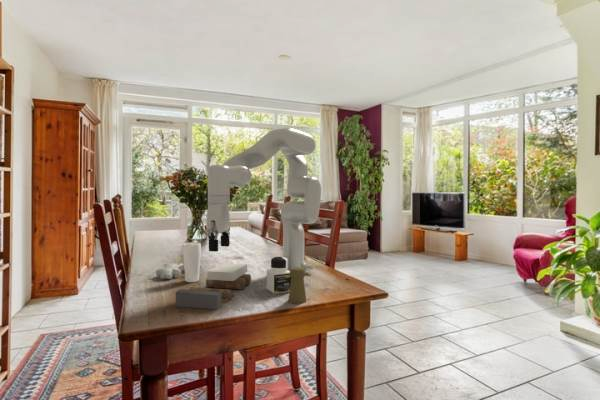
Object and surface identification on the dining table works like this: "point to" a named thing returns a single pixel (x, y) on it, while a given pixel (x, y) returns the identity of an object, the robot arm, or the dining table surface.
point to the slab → (227, 272)
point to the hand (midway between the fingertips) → (219, 248)
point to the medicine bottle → (278, 276)
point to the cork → (297, 286)
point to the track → (230, 283)
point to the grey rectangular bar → (199, 299)
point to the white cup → (192, 261)
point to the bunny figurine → (169, 271)
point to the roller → (225, 293)
